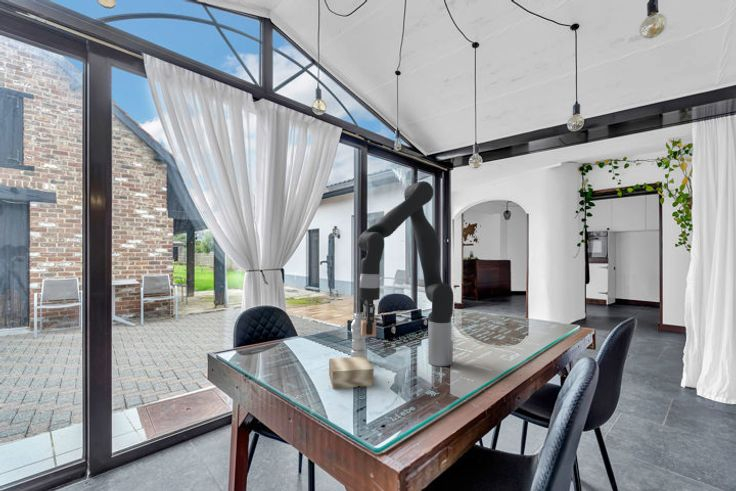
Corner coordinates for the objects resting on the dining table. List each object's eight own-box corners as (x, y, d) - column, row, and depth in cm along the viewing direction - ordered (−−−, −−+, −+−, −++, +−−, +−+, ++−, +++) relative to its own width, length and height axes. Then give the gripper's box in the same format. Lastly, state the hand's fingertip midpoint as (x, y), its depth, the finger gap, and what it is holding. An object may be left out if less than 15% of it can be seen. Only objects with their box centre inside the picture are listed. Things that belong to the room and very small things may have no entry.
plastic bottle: (364, 364, 139) (365, 315, 140) (348, 363, 141) (349, 314, 141) (368, 359, 146) (368, 312, 146) (352, 358, 147) (352, 311, 147)
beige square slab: (365, 372, 131) (365, 356, 131) (373, 386, 117) (373, 368, 117) (329, 374, 128) (329, 358, 128) (332, 389, 114) (332, 371, 115)
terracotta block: (374, 333, 128) (374, 320, 129) (375, 336, 123) (376, 322, 124) (360, 333, 128) (361, 319, 128) (362, 336, 123) (362, 322, 123)
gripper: (382, 288, 119) (381, 337, 119) (376, 284, 134) (375, 328, 133) (361, 287, 119) (360, 337, 118) (357, 284, 133) (356, 328, 132)
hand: (368, 332), depth 126 cm, fingers closed on terracotta block, 5 cm apart
